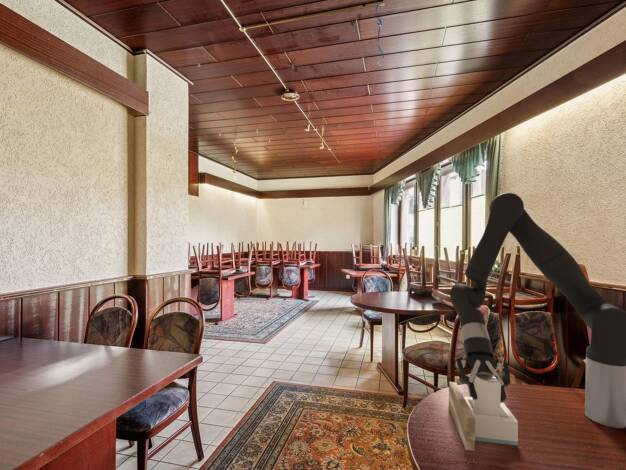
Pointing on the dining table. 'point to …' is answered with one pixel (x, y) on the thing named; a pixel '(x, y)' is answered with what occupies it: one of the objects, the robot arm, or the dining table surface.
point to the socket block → (495, 426)
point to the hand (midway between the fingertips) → (488, 400)
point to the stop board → (462, 416)
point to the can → (487, 394)
